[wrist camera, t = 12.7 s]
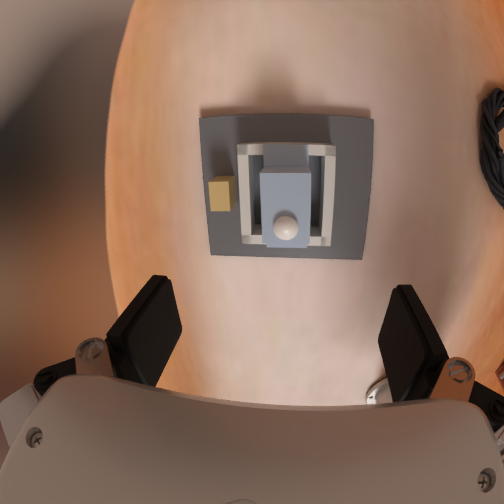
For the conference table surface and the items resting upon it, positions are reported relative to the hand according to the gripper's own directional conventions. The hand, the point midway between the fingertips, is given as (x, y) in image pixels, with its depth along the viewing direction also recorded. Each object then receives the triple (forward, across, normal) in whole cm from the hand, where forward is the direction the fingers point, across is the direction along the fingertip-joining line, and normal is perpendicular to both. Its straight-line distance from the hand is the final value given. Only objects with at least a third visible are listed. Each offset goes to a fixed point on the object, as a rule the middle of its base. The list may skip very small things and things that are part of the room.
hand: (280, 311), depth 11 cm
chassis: (+20, 0, 0) cm, 20 cm away
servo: (+19, 0, 0) cm, 19 cm away
